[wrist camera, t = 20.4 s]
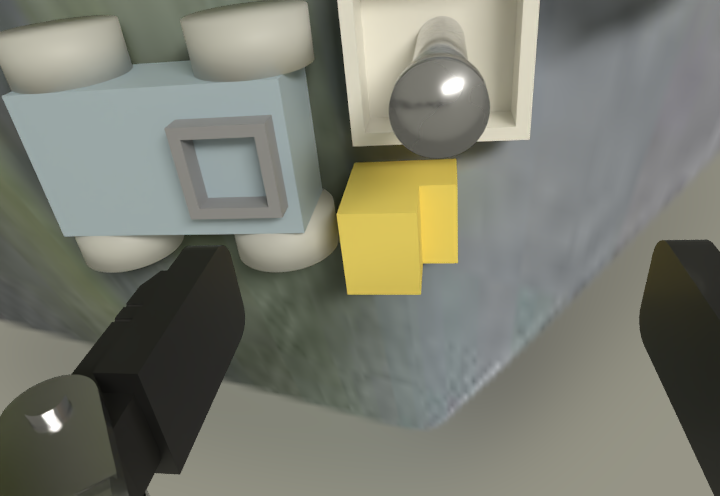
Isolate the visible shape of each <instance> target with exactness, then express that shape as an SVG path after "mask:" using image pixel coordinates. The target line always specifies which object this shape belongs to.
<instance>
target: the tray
mask: <svg viewBox="0 0 720 496" xmlns="http://www.w3.org/2000/svg"><path fill="white" fill-rule="evenodd" d="M337 2H338V12H339V21H340V30H341V40H342V49H343V58H344V68H345V77H346V87H347V96H348V105H349V115H350V124H351V133H352V143H353V146H378V145H403V144H402V143H401V142H400V141H399V140H398V138H397V137H396V135H395V134H394V132H393V129H392V127H391V124H390V120H389V102H390V98H391V94H392V91H393V87H394V85H395V82H396V80H397V78H398V77H399V75H400V74H401V72H402V71H403V70H404V69H405V68H406V67H407V66H408V65H409V64H410V63H412V62H413V57H414V52H415V47H416V42H417V37H418V33H419V31H420V29H421V27H422V26H423V25H424V24H425V23H426V22H427V21H428V20H430V19H432V18H434V17H437V16H447V17H450V18H453V19H454V20H456V21H457V22H458V23H459V24H460V26H461V27H462V29H463V32H464V36H465V42H466V49H467V56H468V61H469V62H470V63H471V64H473V65H474V66H475V67H476V68H477V69H478V70H479V72H480V73H481V75H482V77H483V79H484V81H485V83H486V87H487V91H488V95H489V100H490V115H489V120H488V123H487V126H486V128H485V130H484V132H483V134H482V135H481V137H480V138H479V139H478V140H477V141H476V142H479V141H504V140H529V139H530V126H531V113H532V99H533V86H534V72H535V59H536V46H537V32H538V19H539V5H540V0H337Z"/></svg>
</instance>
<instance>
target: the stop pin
mask: <svg viewBox="0 0 720 496" xmlns="http://www.w3.org/2000/svg"><path fill="white" fill-rule="evenodd" d="M489 115H490V100H489V95H488V91H487V87H486V83H485V81H484V79H483V77H482V75H481V73H480V72H479V70H478V69H477V68H476V67H475V66H474V65H473V64H471V63H470V62H469V61H468V56H467V49H466V42H465V36H464V32H463V29H462V27H461V26H460V24H459V23H458V22H457V21H456V20H454V19H453V18H450V17H447V16H437V17H434V18H432V19H430V20H428V21H427V22H426V23H425V24H424V25H423V26H422V27H421V29H420V31H419V33H418V37H417V42H416V47H415V52H414V57H413V62H412V63H410V64H409V65H408V66H407V67H406V68H405V69H404V70H403V71H402V72H401V74H400V75H399V77H398V78H397V80H396V82H395V85H394V87H393V91H392V94H391V98H390V102H389V120H390V124H391V127H392V129H393V132H394V134H395V135H396V137H397V138H398V140H399V141H400V142H401V143H402V144H403V145H404V146H405V147H406V148H408V149H409V150H410V151H412V152H414V153H416V154H418V155H420V156H424V157H428V158H447V157H452V156H455V155H458V154H460V153H462V152H464V151H465V150H467V149H469V148H470V147H471V146H472V145H474V144H475V143H476V141H477V140H478V139H479V138H480V137H481V135H482V134H483V132H484V130H485V128H486V126H487V123H488V120H489Z"/></svg>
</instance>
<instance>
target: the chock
mask: <svg viewBox="0 0 720 496" xmlns="http://www.w3.org/2000/svg"><path fill="white" fill-rule="evenodd" d="M337 222H338V229H339V236H340V243H341V251H342V258H343V265H344V272H345V280H346V287H347V294H348V295H421V284H422V268H423V263H458V219H457V164H456V159H434V160H409V161H383V162H358V163H354V166H353V168H352V171H351V174H350V177H349V180H348V183H347V186H346V189H345V191H344V194H343V197H342V200H341V203H340V206H339V209H338V212H337Z"/></svg>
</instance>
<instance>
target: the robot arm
mask: <svg viewBox="0 0 720 496" xmlns="http://www.w3.org/2000/svg"><path fill="white" fill-rule="evenodd" d="M126 304H127V306H126V307H123V309H122V310H121V311H120V312H119V314H118V315H117V316H116V318H115V322H112V323H111V324H110V325H109V327H108V328H107V329H106V330H105V332H104V333H103V334H102V336H101V337H100V338H99V339H98V341H97V342H96V343H95V345H94V346H93V347H92V348H91V350H90V351H89V353H88V354H87V355H86V356H85V358H84V359H83V360H82V361H81V363H80V364H79V365H78V367H77V368H76V369H75V370H74V372H73V373H72V374H71V375H62V376H58V377H54V378H51V379H48V380H45V381H43V382H41V383H38V384H36V385H35V386H33V387H31V388H29V389H27V390H26V391H25V392H23V393H22V394H20V395H19V396H18V397H16V398H15V399H14V400H13V401H12V402H11V403H10V404H9V405H8V406H7V407H6V408H5V410H4V411H3V413H2V414H1V416H0V496H150V495H149V493H148V491H147V487H148V485H149V483H150V481H151V479H152V477H153V475H154V473H165V474H180V473H181V471H182V469H183V466H184V464H185V462H186V460H187V458H188V455H189V453H190V451H191V449H192V447H193V444H194V442H195V440H196V438H197V435H198V433H199V431H200V429H201V427H202V424H203V422H204V420H205V418H206V415H207V413H208V411H209V409H210V407H211V404H212V402H213V400H214V398H215V396H216V393H217V391H218V389H219V387H220V384H221V382H222V380H223V378H224V376H225V373H226V371H227V369H228V367H229V365H230V362H231V360H232V358H233V356H234V353H235V351H236V349H237V347H238V345H239V342H240V340H241V338H242V335H243V331H244V325H245V311H244V305H243V301H242V297H241V293H240V290H239V286H238V282H237V278H236V274H235V270H234V266H233V262H232V258H231V255H230V252H229V250H228V249H227V247H225V246H223V245H216V246H187V247H185V248H184V249H183V250H182V252H181V253H180V254H179V256H178V257H177V258H176V260H175V261H174V262H173V264H172V265H171V267H170V268H169V269H168V271H160V272H159V273H158V274H156V275H155V276H153V277H152V278H151V279H149V280H148V281H146V282H145V283H144V284H142V285H141V286H140V287H139V288H138V289H137V291H136V292H135V293H134V294H133V296H132V297H131V298H130V300H129V301H128V302H127V303H126ZM639 324H640V333H641V338H642V340H643V344H644V346H645V348H646V350H647V352H648V354H649V357H650V359H651V361H652V363H653V365H654V367H655V370H656V372H657V374H658V376H659V378H660V380H661V382H662V385H663V386H664V389H665V391H666V393H667V395H668V397H669V399H670V402H671V404H672V406H673V408H674V410H675V412H676V415H677V417H678V419H679V421H680V423H681V425H682V428H683V429H684V431H685V434H686V436H687V438H688V440H689V443H690V444H691V447H692V449H693V451H694V453H695V455H696V457H697V460H698V462H699V464H700V466H701V468H702V470H703V472H704V475H705V477H706V479H707V481H708V483H709V485H710V488H711V490H712V492H713V494H714V496H720V252H719V250H718V249H717V248H716V247H715V246H714V244H713V243H712V242H711V241H709V240H662V241H659V242H658V243H657V245H656V246H655V249H654V252H653V255H652V260H651V264H650V269H649V273H648V277H647V282H646V286H645V290H644V295H643V299H642V304H641V309H640V316H639Z"/></svg>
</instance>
